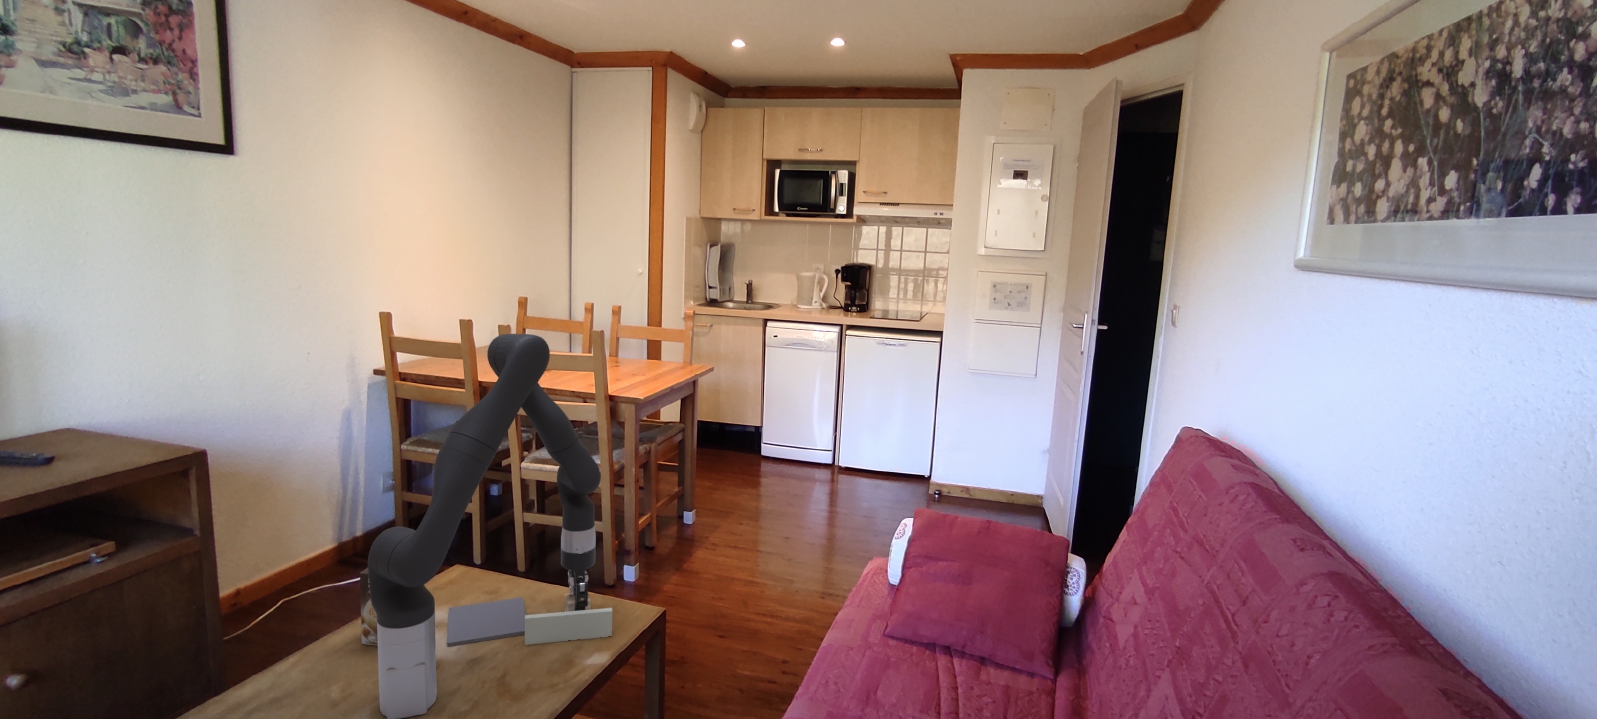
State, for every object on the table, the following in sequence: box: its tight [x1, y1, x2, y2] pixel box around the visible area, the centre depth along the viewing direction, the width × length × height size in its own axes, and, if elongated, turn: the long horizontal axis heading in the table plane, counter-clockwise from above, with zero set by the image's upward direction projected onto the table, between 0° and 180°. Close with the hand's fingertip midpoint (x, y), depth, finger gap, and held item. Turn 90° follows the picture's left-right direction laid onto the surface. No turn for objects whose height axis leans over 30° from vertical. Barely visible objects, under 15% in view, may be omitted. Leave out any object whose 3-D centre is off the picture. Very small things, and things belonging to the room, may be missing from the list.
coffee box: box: [359, 566, 378, 647], centre depth 151 cm, size 9×6×16 cm
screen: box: [524, 607, 613, 646], centre depth 156 cm, size 2×18×6 cm, turn 107°
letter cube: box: [564, 592, 592, 612], centre depth 165 cm, size 5×5×5 cm
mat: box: [446, 597, 527, 648], centre depth 161 cm, size 16×16×1 cm
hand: (577, 612), depth 165 cm, fingers open, 6 cm apart
